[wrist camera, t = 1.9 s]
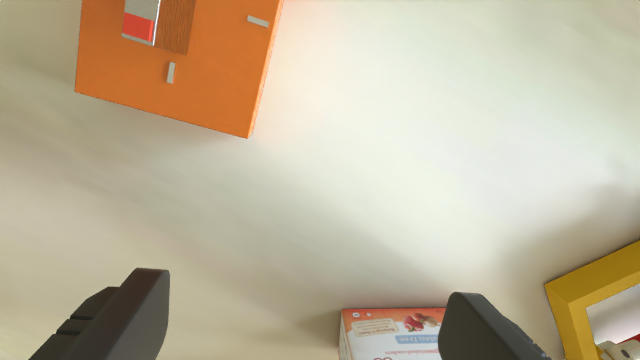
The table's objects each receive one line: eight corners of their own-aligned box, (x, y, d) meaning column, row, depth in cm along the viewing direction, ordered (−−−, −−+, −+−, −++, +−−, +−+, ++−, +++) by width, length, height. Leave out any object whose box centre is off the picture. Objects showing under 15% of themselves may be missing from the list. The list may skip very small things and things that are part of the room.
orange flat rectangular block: (125, -157, 20) (96, -199, 17) (304, -84, 22) (306, -111, 19) (99, 90, 24) (72, 92, 21) (252, 133, 26) (247, 139, 23)
